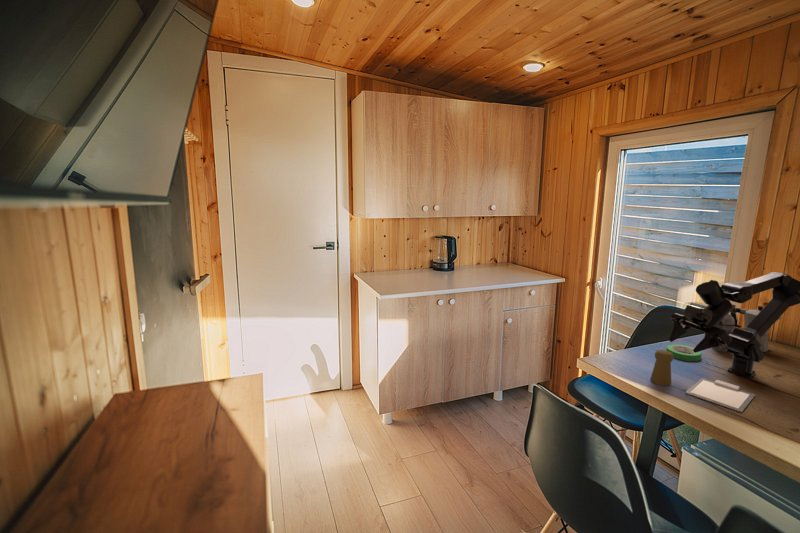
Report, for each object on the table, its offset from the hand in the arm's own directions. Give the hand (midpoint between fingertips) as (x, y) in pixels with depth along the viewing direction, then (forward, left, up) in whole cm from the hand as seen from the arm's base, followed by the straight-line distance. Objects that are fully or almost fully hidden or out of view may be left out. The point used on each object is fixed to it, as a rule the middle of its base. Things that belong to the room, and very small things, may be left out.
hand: (681, 346), depth 130 cm
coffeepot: (-56, +8, -12) cm, 58 cm away
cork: (+6, -3, -12) cm, 14 cm away
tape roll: (-25, -6, -13) cm, 29 cm away
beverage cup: (-43, +1, -12) cm, 45 cm away
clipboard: (+1, +12, -12) cm, 17 cm away
